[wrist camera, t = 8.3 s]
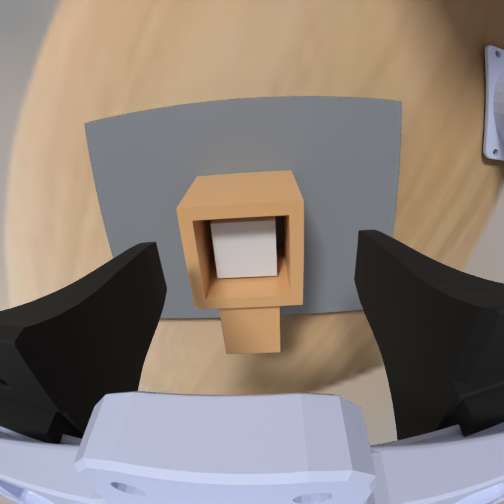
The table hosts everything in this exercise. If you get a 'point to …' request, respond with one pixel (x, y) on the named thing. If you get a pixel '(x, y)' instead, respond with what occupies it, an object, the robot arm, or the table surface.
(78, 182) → the table surface
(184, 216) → the tan square tube
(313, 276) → the duct board
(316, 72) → the table surface
